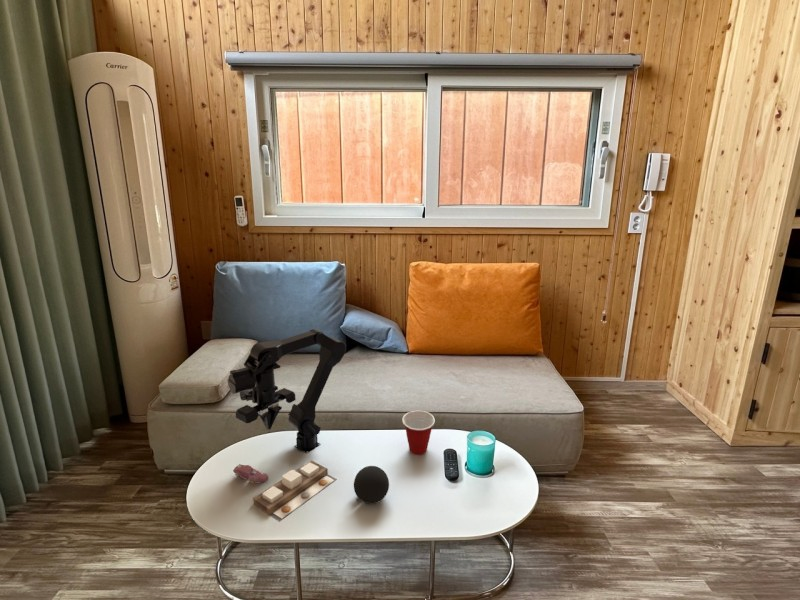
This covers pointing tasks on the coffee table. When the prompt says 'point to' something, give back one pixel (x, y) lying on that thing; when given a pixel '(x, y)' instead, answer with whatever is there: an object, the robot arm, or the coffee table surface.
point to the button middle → (291, 479)
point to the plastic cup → (418, 430)
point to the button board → (295, 493)
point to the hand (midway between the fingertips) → (268, 429)
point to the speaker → (371, 484)
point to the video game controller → (250, 474)
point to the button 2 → (309, 469)
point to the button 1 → (272, 494)
